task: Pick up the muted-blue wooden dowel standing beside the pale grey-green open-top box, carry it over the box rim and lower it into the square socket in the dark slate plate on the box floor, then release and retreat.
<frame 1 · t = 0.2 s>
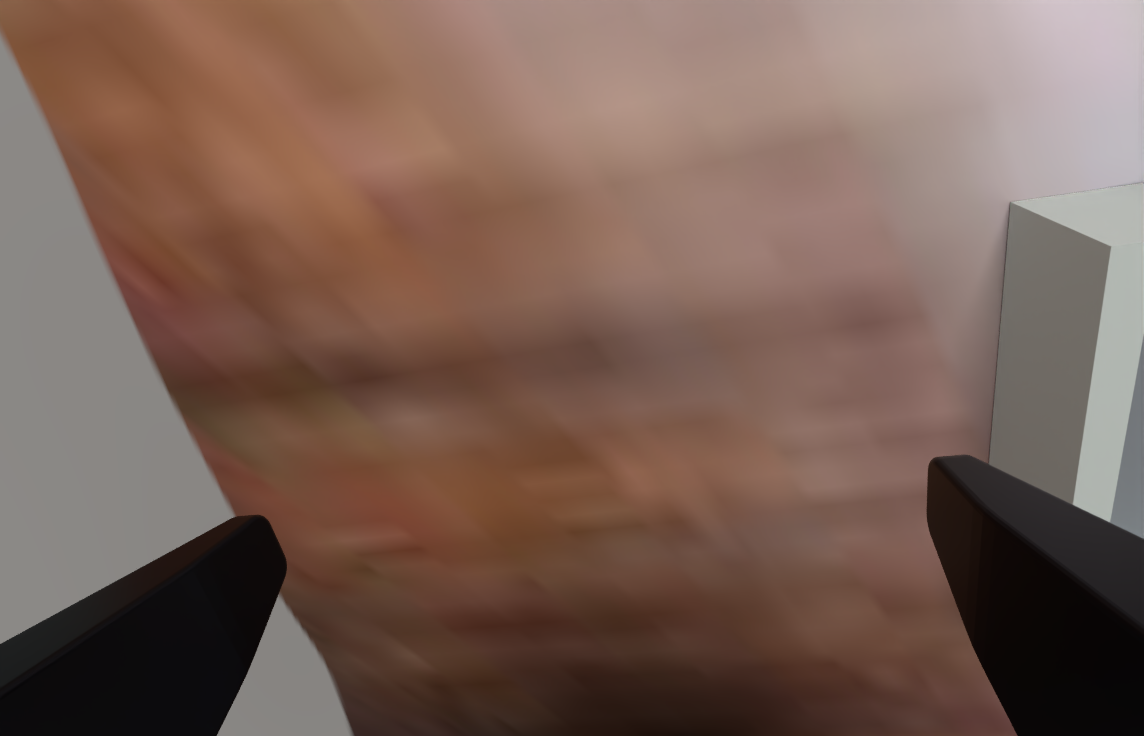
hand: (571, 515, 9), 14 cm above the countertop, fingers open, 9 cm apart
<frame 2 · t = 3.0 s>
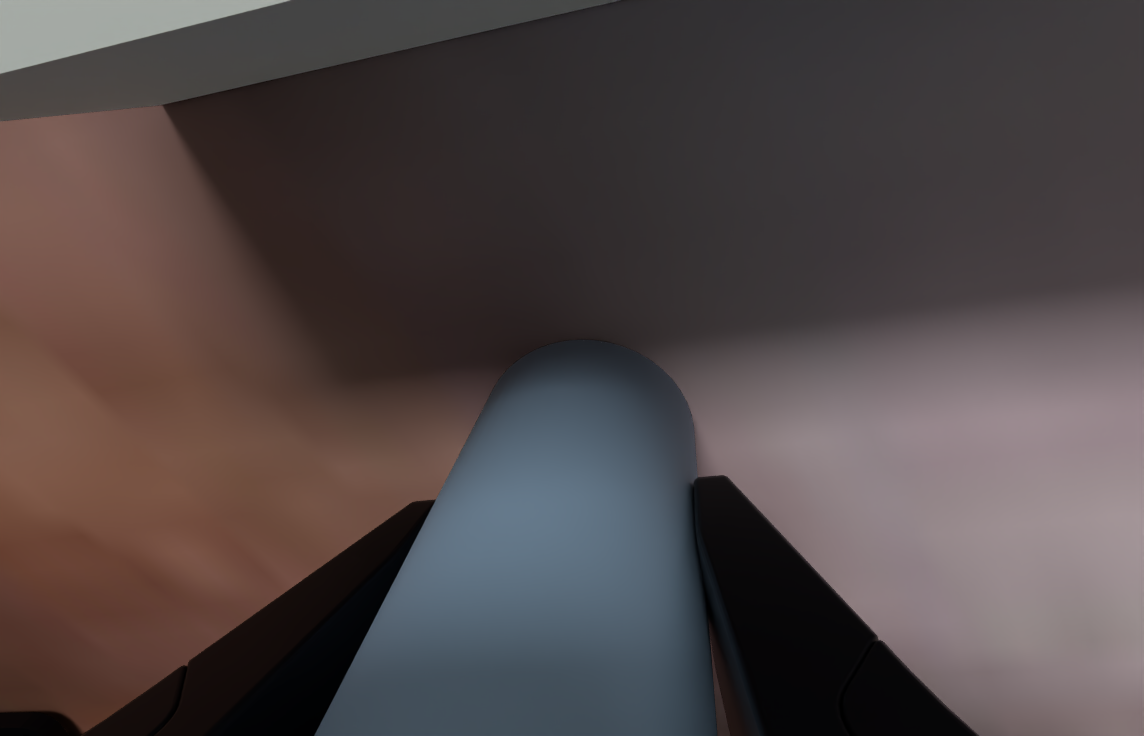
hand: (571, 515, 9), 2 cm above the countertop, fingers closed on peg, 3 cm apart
peg: (587, 436, 11), on the countertop, touching gripper
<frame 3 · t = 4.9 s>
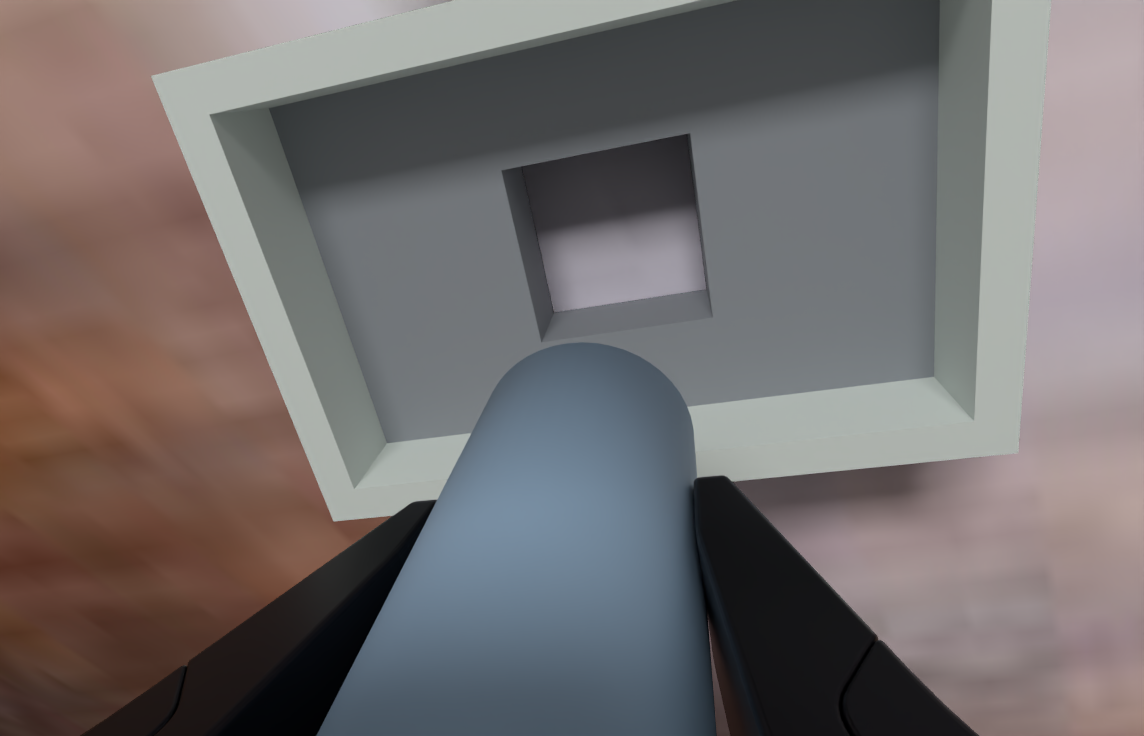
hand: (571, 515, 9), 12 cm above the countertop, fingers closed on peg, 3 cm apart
box: (615, 225, 20), on the countertop
peg: (587, 439, 11), point 10 cm above the countertop, touching gripper
when the fingers open (3 cm above the countertop, at t = 6.7 s): peg drops 1 cm, resting in box.
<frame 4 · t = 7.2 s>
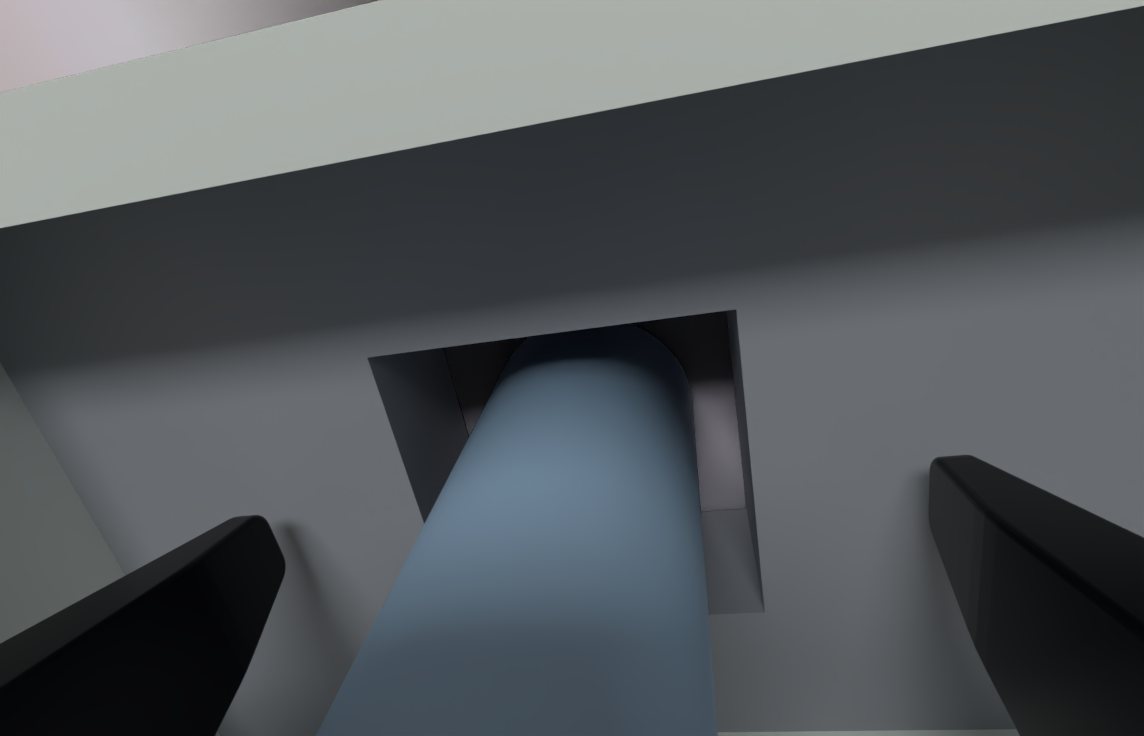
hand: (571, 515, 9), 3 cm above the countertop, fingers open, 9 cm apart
box: (593, 406, 12), on the countertop
peg: (593, 407, 12), resting in box
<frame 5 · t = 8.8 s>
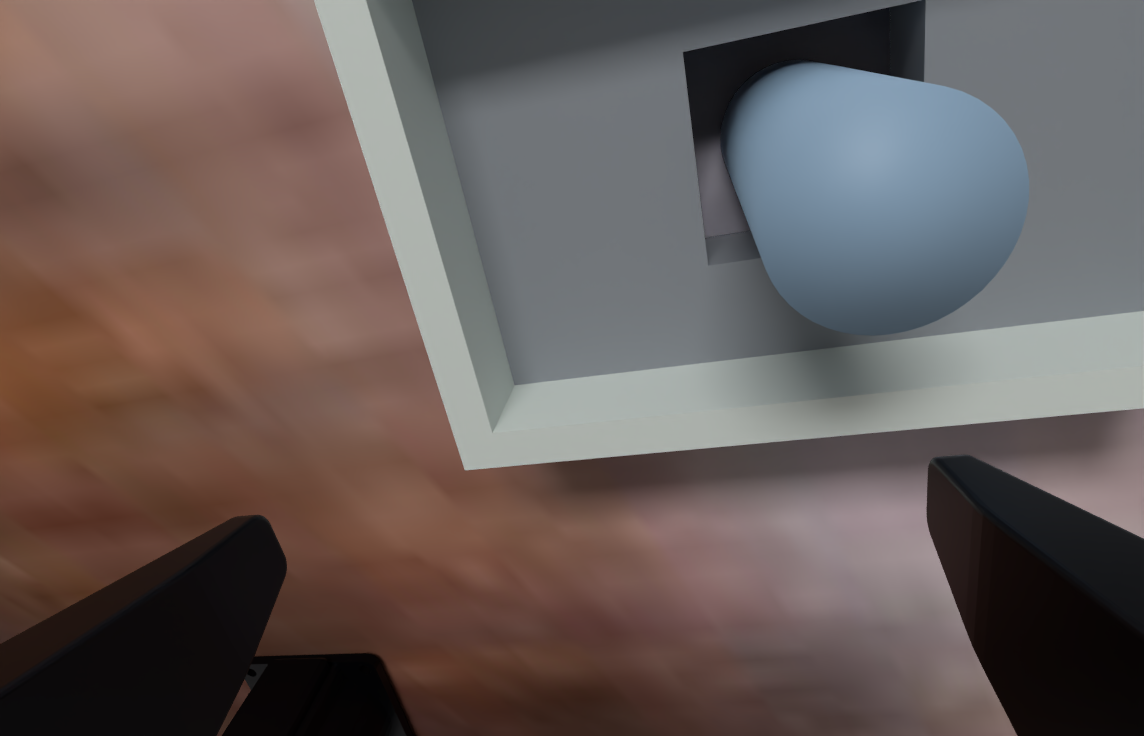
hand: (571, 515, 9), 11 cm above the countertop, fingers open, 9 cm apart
box: (788, 131, 17), on the countertop
peg: (788, 133, 17), resting in box
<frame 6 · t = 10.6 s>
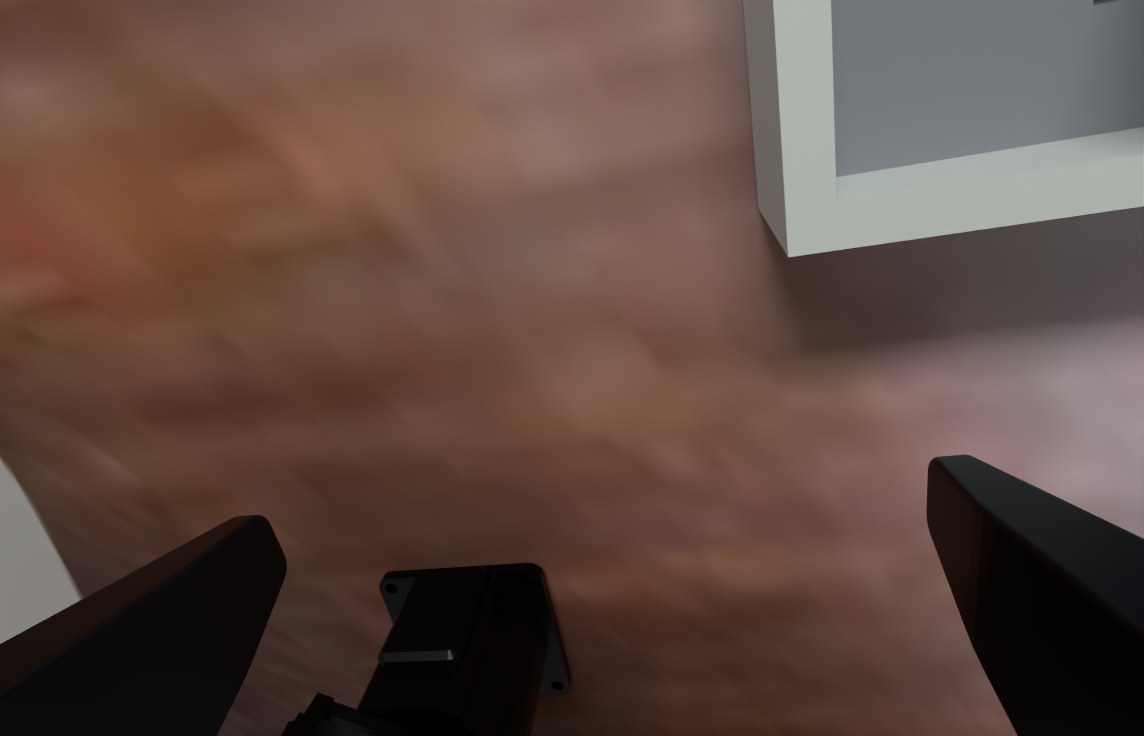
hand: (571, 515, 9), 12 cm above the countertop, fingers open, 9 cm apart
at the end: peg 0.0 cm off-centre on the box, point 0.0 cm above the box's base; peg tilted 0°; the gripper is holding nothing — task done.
